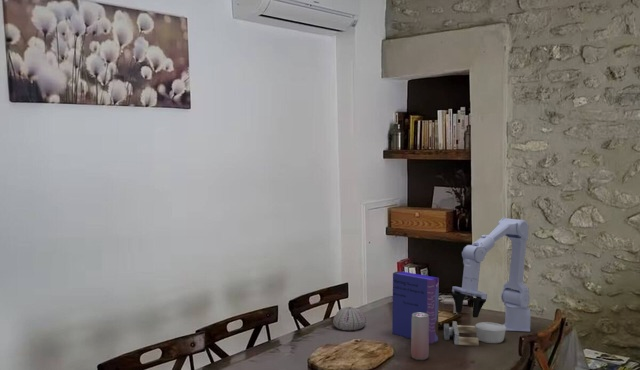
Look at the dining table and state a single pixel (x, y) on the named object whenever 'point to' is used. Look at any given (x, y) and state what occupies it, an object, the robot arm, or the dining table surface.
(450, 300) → the pipe connector
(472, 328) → the pair of beige bars
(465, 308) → the dining table surface
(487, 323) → the ramekin
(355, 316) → the sea urchin shell
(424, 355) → the beverage can
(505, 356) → the dining table surface
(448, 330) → the grey h-shaped piece
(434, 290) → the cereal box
